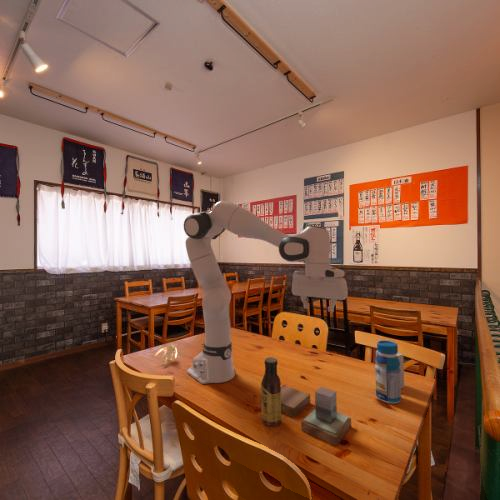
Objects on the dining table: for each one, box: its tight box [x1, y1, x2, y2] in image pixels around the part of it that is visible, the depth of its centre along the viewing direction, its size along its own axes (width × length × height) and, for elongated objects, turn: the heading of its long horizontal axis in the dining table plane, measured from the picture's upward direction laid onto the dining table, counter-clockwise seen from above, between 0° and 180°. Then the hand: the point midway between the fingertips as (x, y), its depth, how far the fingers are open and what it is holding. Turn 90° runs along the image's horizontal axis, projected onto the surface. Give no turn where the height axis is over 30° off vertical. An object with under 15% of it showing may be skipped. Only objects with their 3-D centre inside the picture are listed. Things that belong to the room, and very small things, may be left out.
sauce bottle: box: [260, 356, 282, 427], centre depth 87 cm, size 7×6×20 cm
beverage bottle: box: [374, 340, 402, 405], centre depth 100 cm, size 8×8×20 cm
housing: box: [314, 386, 338, 424], centre depth 84 cm, size 5×4×8 cm
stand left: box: [281, 385, 311, 418], centre depth 97 cm, size 11×11×3 cm
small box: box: [375, 349, 405, 389], centre depth 110 cm, size 8×6×13 cm
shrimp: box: [152, 341, 179, 366], centre depth 136 cm, size 11×15×9 cm
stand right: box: [300, 408, 352, 447], centre depth 84 cm, size 11×11×3 cm
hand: (318, 310), depth 98 cm, fingers open, 8 cm apart
